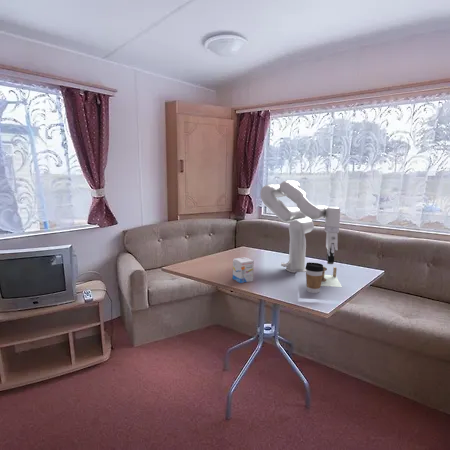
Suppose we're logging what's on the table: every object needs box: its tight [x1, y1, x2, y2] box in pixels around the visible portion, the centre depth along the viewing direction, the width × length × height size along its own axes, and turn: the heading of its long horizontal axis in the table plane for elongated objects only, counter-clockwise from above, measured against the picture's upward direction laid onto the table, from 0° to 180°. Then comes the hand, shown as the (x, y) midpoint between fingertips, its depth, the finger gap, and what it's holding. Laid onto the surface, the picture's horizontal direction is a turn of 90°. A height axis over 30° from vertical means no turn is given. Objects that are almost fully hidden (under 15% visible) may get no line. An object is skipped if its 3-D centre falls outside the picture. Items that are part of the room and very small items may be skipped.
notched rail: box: [324, 266, 338, 277], centre depth 173 cm, size 11×2×5 cm, turn 80°
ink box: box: [232, 256, 254, 284], centre depth 169 cm, size 9×8×12 cm
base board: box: [321, 274, 343, 288], centre depth 166 cm, size 12×19×2 cm, turn 170°
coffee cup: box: [305, 261, 324, 294], centre depth 150 cm, size 8×8×15 cm
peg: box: [326, 249, 334, 265], centre depth 172 cm, size 3×3×8 cm
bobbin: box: [321, 266, 328, 282], centre depth 166 cm, size 6×6×6 cm
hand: (330, 261), depth 172 cm, fingers closed on peg, 3 cm apart
